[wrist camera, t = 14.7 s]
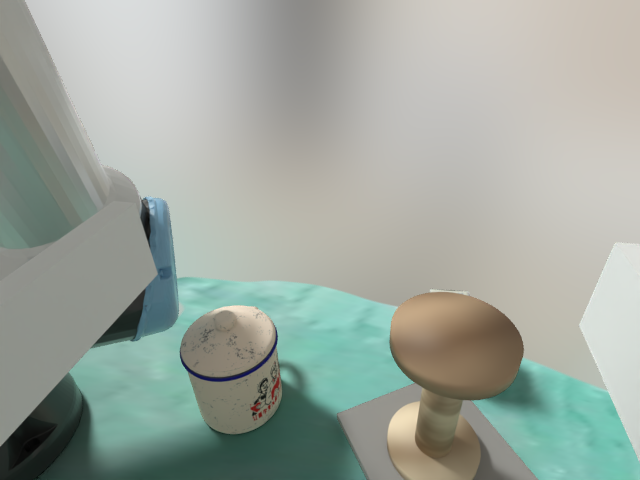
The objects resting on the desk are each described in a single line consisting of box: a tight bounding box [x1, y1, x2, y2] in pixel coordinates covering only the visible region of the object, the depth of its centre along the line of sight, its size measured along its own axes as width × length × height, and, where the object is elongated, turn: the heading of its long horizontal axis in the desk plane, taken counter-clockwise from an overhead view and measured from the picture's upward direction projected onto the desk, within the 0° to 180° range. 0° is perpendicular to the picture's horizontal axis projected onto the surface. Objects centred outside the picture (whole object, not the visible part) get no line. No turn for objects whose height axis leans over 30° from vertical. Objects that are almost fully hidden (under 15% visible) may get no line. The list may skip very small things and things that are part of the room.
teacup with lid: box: [180, 306, 282, 434], centre depth 40 cm, size 12×9×12 cm
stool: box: [387, 292, 524, 480], centre depth 32 cm, size 9×9×14 cm
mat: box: [337, 383, 538, 480], centre depth 37 cm, size 13×13×1 cm
